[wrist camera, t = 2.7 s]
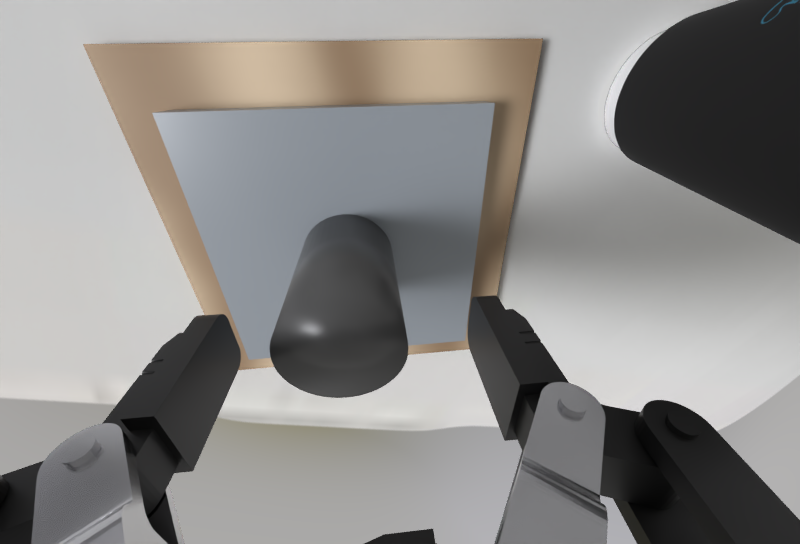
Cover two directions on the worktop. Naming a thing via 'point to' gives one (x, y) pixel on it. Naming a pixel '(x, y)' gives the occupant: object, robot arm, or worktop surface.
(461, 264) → the lid
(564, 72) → the worktop surface
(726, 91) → the dixie cup
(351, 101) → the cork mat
